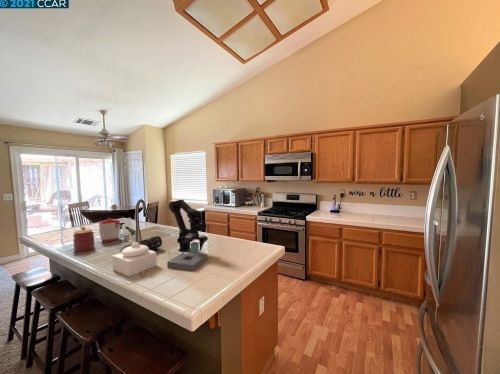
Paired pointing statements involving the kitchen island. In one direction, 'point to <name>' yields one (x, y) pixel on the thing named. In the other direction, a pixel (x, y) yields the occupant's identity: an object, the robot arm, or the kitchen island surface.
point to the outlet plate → (187, 261)
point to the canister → (83, 240)
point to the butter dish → (134, 260)
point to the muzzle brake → (148, 243)
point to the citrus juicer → (109, 230)
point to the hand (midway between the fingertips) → (194, 249)
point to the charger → (195, 247)
